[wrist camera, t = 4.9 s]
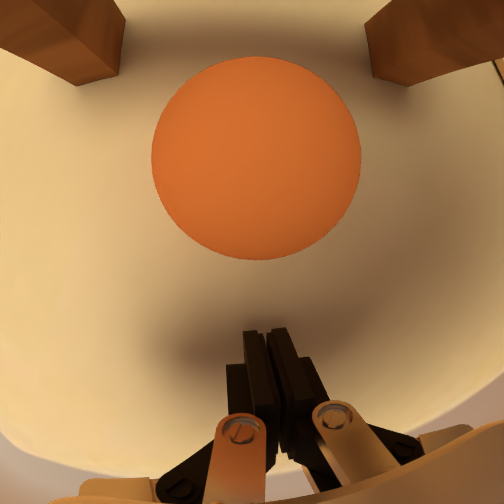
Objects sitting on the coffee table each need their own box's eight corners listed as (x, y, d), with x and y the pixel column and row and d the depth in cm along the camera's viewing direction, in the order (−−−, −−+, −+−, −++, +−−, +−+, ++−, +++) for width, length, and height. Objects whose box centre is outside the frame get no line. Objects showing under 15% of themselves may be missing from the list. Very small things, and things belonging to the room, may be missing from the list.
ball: (428, 239, 5) (326, 252, 10) (363, 30, 5) (303, 119, 10) (126, 275, 4) (174, 269, 9) (138, 23, 4) (166, 126, 10)
